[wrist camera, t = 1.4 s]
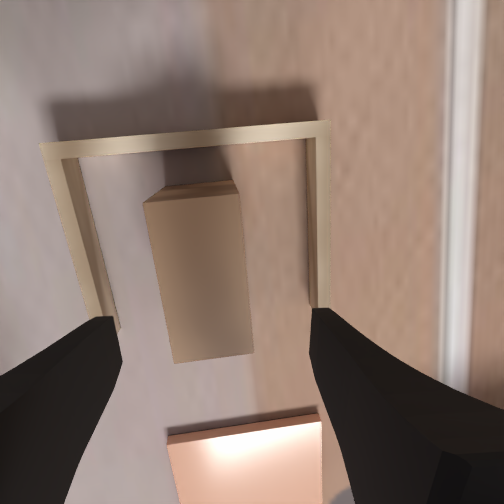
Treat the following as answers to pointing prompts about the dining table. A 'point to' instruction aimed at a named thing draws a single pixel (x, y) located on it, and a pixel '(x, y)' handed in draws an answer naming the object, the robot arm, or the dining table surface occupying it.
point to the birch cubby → (67, 152)
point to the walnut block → (201, 269)
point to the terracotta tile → (250, 463)
